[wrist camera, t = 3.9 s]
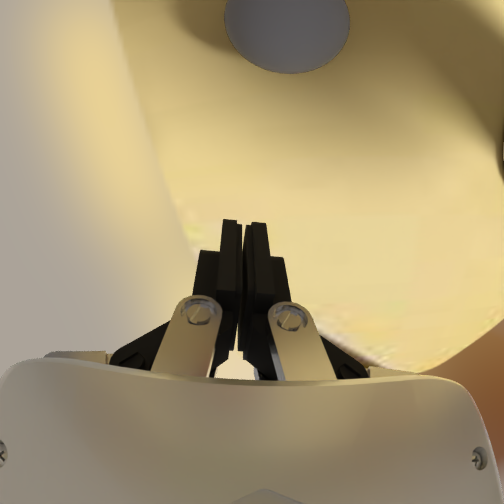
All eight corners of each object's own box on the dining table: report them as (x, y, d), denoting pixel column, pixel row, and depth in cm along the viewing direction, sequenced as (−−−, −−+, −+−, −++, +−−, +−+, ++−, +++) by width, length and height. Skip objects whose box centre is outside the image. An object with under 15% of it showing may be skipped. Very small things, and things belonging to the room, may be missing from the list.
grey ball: (350, 46, 14) (392, 44, 9) (265, 89, 16) (270, 102, 11) (297, -32, 11) (317, -67, 6) (209, 13, 13) (188, -8, 8)
